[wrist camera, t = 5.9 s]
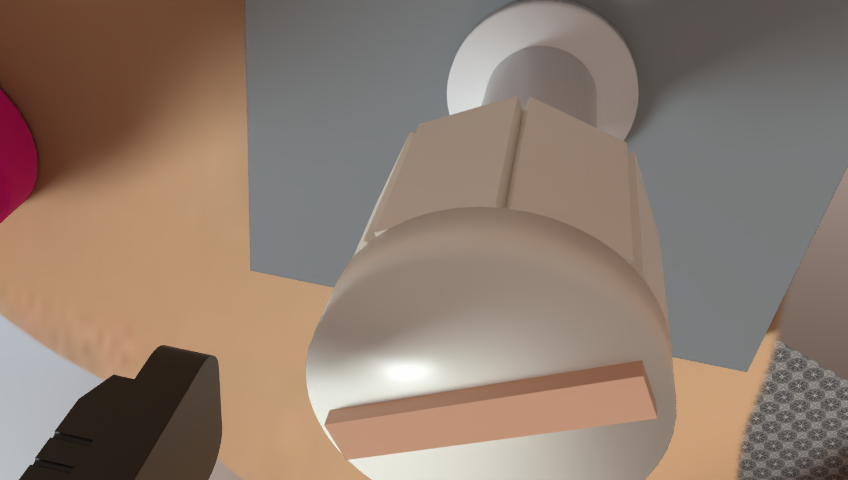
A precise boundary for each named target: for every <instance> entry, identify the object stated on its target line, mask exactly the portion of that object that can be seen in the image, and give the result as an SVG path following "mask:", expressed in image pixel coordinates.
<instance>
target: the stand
mask: <svg viewBox="0 0 848 480" xmlns="http://www.w3.org/2000/svg"><path fill="white" fill-rule="evenodd" d="M245 34H246V81H247V129H248V177H249V225H250V270H251V271H256V272H260V273H265V274H270V275H275V276H280V277H285V278H290V279H295V280H299V281H304V282H309V283H314V284H319V285H324V286H329V287H335V285H336V283H337V281H338V279H339V277H340V275H341V274H342V272H343V270H344V268H345V267H346V265H347V264H348V263H349V262H350V261H351V259H352V258H353V256H354V254H355V251H356V249H357V247H358V244H359V242H360V240H361V238H362V235H363V233H364V231H365V228H366V226H367V224H368V221H369V219H370V217H371V215H372V212H373V210H374V208H375V205H376V203H377V201H378V199H379V197H380V195H381V193H382V191H383V188H384V186H385V184H386V182H387V180H388V178H389V176H390V173H391V171H392V169H393V167H394V165H395V163H396V161H397V159H398V156H399V154H400V152H401V150H402V148H403V146H404V144H405V141H406V139H407V137H408V135H409V133H410V132H412V133H414V134H415V133H416V130H417V128H418V125H419V124H421V123H425V122H428V121H432V120H435V119H439V118H442V117H445V116H449V115H452V114H456V113H459V112H463V111H466V110H469V109H473V108H476V107H480V106H483V105H487V104H490V103H494V102H497V101H500V100H504V99H507V98H511V97H514V96H518V99H519V101H520V104H521V107H522V110H524V108H525V106H526V104H527V103H528V101H529V99H530V97H533V98H535V99H537V100H539V101H541V102H543V103H545V104H547V105H549V106H551V107H553V108H555V109H558V110H560V111H562V112H564V113H566V114H568V115H570V116H572V117H574V118H576V119H578V120H580V121H582V122H585V123H587V124H589V125H591V126H593V127H595V128H597V129H599V130H601V131H603V132H605V133H607V134H610V135H612V136H614V137H616V138H618V139H620V140H622V141H624V142H626V143H627V154H628V153H632V152H635V154H636V158H637V161H638V165H639V168H640V172H641V175H642V179H643V182H644V186H645V189H646V193H647V196H648V199H649V203H650V206H651V210H652V213H653V217H654V220H655V224H656V227H657V231H658V234H659V239H660V248H661V257H662V267H663V276H664V286H665V295H666V304H667V314H668V323H669V332H670V342H671V351H672V357H676V358H680V359H685V360H690V361H695V362H700V363H705V364H710V365H715V366H720V367H724V368H729V369H734V370H739V371H744V372H747V371H748V369H749V367H750V365H751V363H752V361H753V359H754V357H755V355H756V353H757V350H758V348H759V346H760V344H761V342H762V340H763V338H764V336H765V334H766V332H767V330H768V328H769V326H770V324H771V322H772V320H773V318H774V316H775V314H776V312H777V310H778V308H779V306H780V304H781V302H782V299H783V297H784V295H785V293H786V291H787V289H788V287H789V285H790V283H791V281H792V279H793V277H794V275H795V273H796V271H797V269H798V267H799V265H800V263H801V261H802V259H803V257H804V255H805V253H806V250H807V248H808V246H809V244H810V242H811V240H812V238H813V236H814V234H815V232H816V230H817V228H818V226H819V224H820V222H821V220H822V218H823V216H824V214H825V212H826V210H827V208H828V206H829V204H830V201H831V199H832V197H833V195H834V193H835V191H836V189H837V187H838V185H839V183H840V181H841V179H842V177H843V175H844V173H845V171H846V169H847V167H848V0H245Z"/></svg>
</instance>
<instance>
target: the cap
mask: <svg viewBox="0 0 848 480" xmlns="http://www.w3.org/2000/svg"><path fill="white" fill-rule="evenodd" d="M306 383H307V388H308V393H309V399H310V401H311V404H312V407H313V410H314V412H315V415H316V417H317V419H318V421H319V423H320V424H321V426H322V428H323V430H324V432H325V433H326V434H327V436H328V437H329V439H330V440H331V441H332V443H333V444H334V445H335V447H336V448H337V449H338V450H339V451H340V452H341V453H342V454H343V456H344V458H345V459H346V460H348V461H350V462H351V463H352V464H353V465H354V466H355V467H356V468H358V469H359V470H360V471H361V472H362V473H363V474H365V475H366V476H368V477H369V478H370V479H372V480H645V479H646V478H647V477H648V476H649V474H650V473H651V472H652V471H653V470H654V469H655V467H656V466H657V465H658V464H659V462H660V460H661V459H662V457H663V455H664V454H665V452H666V450H667V448H668V446H669V443H670V440H671V438H672V435H673V432H674V426H675V420H676V393H675V384H674V374H673V361H672V351H671V342H670V332H669V323H668V314H667V304H666V295H665V286H664V276H663V267H662V257H661V248H660V239H659V234H658V231H657V227H656V224H655V220H654V217H653V213H652V210H651V206H650V203H649V199H648V196H647V193H646V189H645V186H644V182H643V179H642V175H641V172H640V168H639V165H638V161H637V158H636V154H635V152H632V153H628V154H627V143H626V142H624V141H622V140H620V139H618V138H616V137H614V136H612V135H610V134H607V133H605V132H603V131H601V130H599V129H597V128H595V127H593V126H591V125H589V124H587V123H585V122H582V121H580V120H578V119H576V118H574V117H572V116H570V115H568V114H566V113H564V112H562V111H560V110H558V109H555V108H553V107H551V106H549V105H547V104H545V103H543V102H541V101H539V100H537V99H535V98H533V97H530V99H529V101H528V103H527V104H526V106H525V108H524V110H522V107H521V104H520V101H519V99H518V96H514V97H511V98H507V99H504V100H500V101H497V102H494V103H490V104H487V105H483V106H480V107H476V108H473V109H469V110H466V111H463V112H459V113H456V114H452V115H449V116H445V117H442V118H439V119H435V120H432V121H428V122H425V123H421V124H419V125H418V128H417V130H416V133H415V134H414V133H412V132H410V133H409V135H408V137H407V139H406V141H405V144H404V146H403V148H402V150H401V152H400V154H399V156H398V159H397V161H396V163H395V165H394V167H393V169H392V171H391V173H390V176H389V178H388V180H387V182H386V184H385V186H384V188H383V191H382V193H381V195H380V197H379V199H378V201H377V203H376V205H375V208H374V210H373V212H372V215H371V217H370V219H369V221H368V224H367V226H366V228H365V231H364V233H363V235H362V238H361V240H360V242H359V244H358V247H357V249H356V251H355V254H354V256H353V258H352V259H351V261H350V262H349V263H348V264H347V265H346V267H345V268H344V270H343V272H342V274H341V275H340V277H339V279H338V281H337V283H336V285H335V287H334V289H333V292H332V294H331V296H330V298H329V301H328V303H327V305H326V307H325V310H324V312H323V314H322V316H321V319H320V321H319V323H318V325H317V328H316V330H315V332H314V335H313V338H312V340H311V343H310V346H309V349H308V356H307V362H306Z"/></svg>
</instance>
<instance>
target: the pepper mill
mask: <svg viewBox="0 0 848 480" xmlns="http://www.w3.org/2000/svg"><path fill="white" fill-rule="evenodd" d="M37 174H38V162H37V151H36V147H35V144H34V141H33V137H32V134H31V132H30V130H29V128H28V126H27V125H26V123H25V121H24V119H23V117H22V116H21V114H20V112H19V110H18V109H17V108H16V106H15V105H14V104H13V103H12V102H11V101H10V99H9V98H8V97H7V96H6V95H5V93H4V92H3V91H2V90H1V89H0V223H1V222H2V221H3V220H4V219H5V218H7V217H8V216H9V215H10V214H11V213H12V212H13V211H14V210H15V209H16V208H18V207H19V206H20V205H21V204H22V203H23V202H24V201H25V200H26V199H27V198H28V197H29V195H30V194H31V192H32V190H33V188H34V186H35V183H36V178H37Z"/></svg>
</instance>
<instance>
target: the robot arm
mask: <svg viewBox="0 0 848 480" xmlns="http://www.w3.org/2000/svg"><path fill="white" fill-rule="evenodd" d="M221 437H222V419H221V400H220V382H219V366H218V361H217V358H216V357H215V356H212V355H207V354H202V353H198V352H193V351H189V350H184V349H179V348H175V347H170V346H165V345H162V346H159V347H158V348H157V349H156V350H155V351H154V352H153V353H152V354H151V356H150V357H149V359H148V360H147V362H146V363H145V365H144V366H143V367H142V369H141V370H140V372H139V373H138V375H137V376H136V378H135V379H130V378H126V377H121V376H117V375H113V376H111V377H110V378H108V379H107V380H105V381H104V382H103V383H101V384H100V385H98V386H97V387H95V388H94V389H93V390H91V391H90V392H88V393H87V394H85V395H84V396H82V397H81V398H80V399H78V401H77V402H76V403H75V405H74V406H73V408H72V409H71V410H70V412H69V413H68V414H67V416H66V417H65V418H64V420H63V421H62V422H61V424H60V425H59V426H58V428H57V429H56V430H55V435H54V437H53V438H50V439H49V440H48V441H47V443H46V444H45V445H44V447H43V448H42V449H41V451H40V452H39V453H38V455H37V456H36V458H35V462H34V464H33V465H30V466H29V467H28V468H27V470H26V471H25V472H24V474H23V475H22V476H21V478H20V479H19V480H208V479H209V477H210V475H211V473H212V471H213V468H214V466H215V463H216V460H217V456H218V453H219V449H220V444H221Z"/></svg>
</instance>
